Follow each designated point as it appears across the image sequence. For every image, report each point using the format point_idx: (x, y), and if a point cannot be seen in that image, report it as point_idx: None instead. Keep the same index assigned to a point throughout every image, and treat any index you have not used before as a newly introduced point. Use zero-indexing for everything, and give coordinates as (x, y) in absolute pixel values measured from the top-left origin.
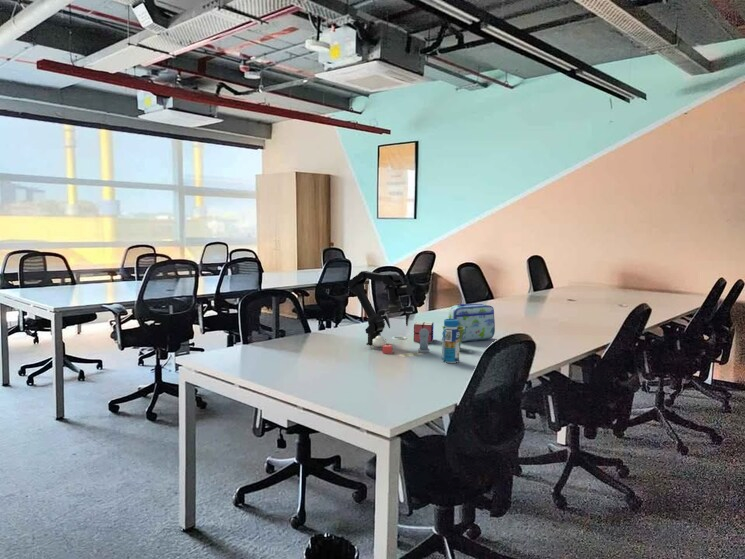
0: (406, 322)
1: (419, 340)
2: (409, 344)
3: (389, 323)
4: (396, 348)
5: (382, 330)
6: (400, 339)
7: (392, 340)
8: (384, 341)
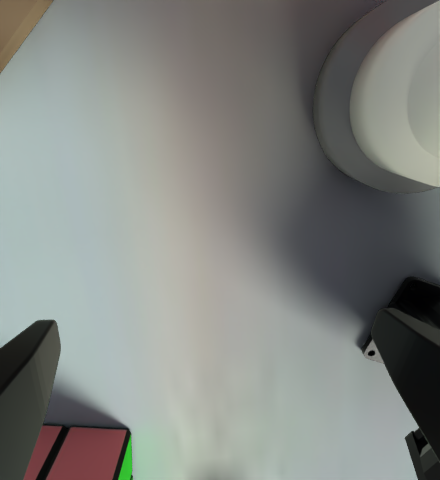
0: (2, 371)
1: (84, 437)
2: (148, 357)
3: (425, 411)
4: (237, 206)
5: (413, 448)
6: (228, 476)
7: (281, 447)
8: (402, 31)
